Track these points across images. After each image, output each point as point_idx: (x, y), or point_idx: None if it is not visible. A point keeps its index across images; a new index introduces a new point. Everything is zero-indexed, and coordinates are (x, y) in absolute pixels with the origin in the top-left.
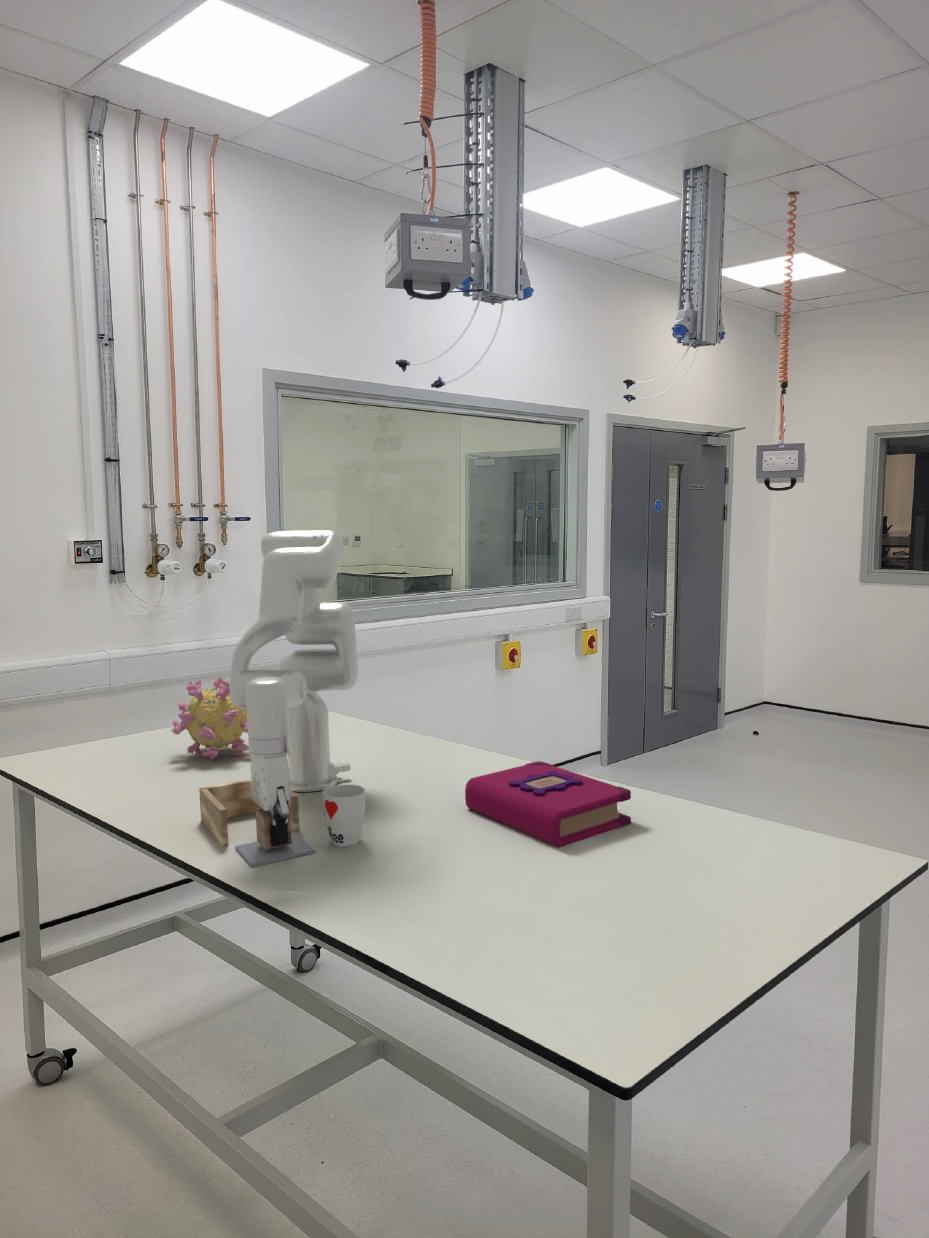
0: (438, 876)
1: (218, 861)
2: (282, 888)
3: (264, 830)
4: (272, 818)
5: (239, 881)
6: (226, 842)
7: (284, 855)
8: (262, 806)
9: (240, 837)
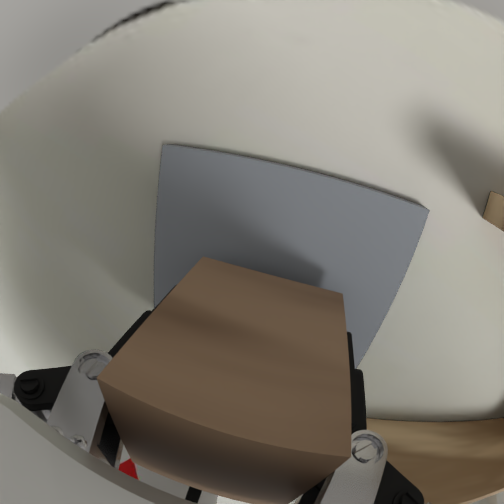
0: (22, 358)
1: (346, 63)
2: (20, 164)
3: (151, 313)
4: (66, 383)
5: (97, 67)
6: (490, 212)
7: (163, 290)
8: (14, 439)
9: (490, 293)
